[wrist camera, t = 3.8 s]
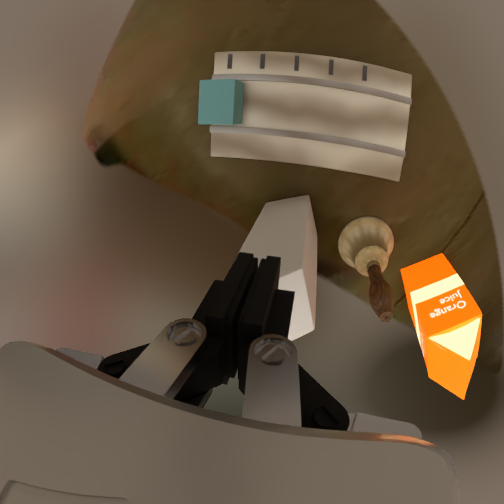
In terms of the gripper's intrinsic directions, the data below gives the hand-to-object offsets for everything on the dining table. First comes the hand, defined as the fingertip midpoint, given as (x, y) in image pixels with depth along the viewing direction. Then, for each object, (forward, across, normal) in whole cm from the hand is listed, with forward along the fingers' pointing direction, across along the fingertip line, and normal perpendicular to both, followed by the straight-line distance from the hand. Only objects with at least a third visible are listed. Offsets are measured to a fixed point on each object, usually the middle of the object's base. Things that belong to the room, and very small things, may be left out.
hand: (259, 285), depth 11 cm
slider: (+24, +9, -8) cm, 27 cm away
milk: (+26, 0, +7) cm, 27 cm away
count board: (+26, -1, -8) cm, 27 cm away
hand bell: (+26, -11, +9) cm, 30 cm away
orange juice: (+26, -23, +15) cm, 38 cm away
